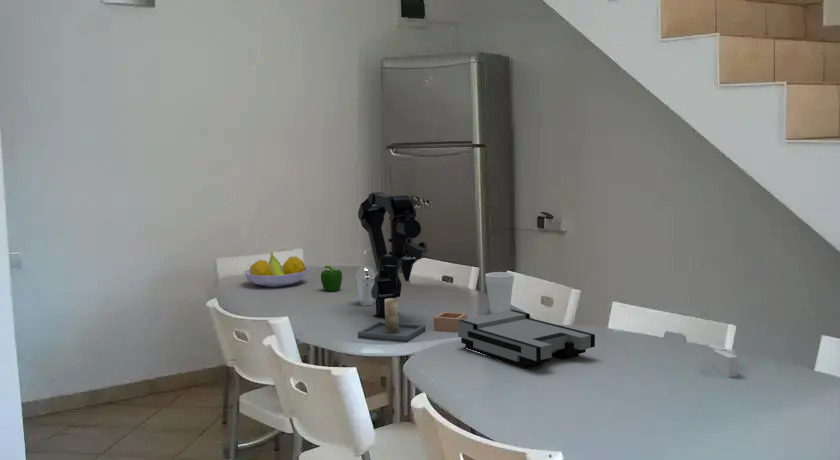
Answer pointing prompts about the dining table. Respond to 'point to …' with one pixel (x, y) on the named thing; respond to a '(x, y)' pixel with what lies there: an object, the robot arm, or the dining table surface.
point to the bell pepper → (331, 279)
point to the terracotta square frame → (448, 321)
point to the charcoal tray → (379, 333)
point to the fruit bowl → (276, 272)
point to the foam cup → (499, 291)
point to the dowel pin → (391, 315)
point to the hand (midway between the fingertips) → (401, 283)
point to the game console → (522, 338)
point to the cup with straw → (365, 282)
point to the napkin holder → (722, 361)
